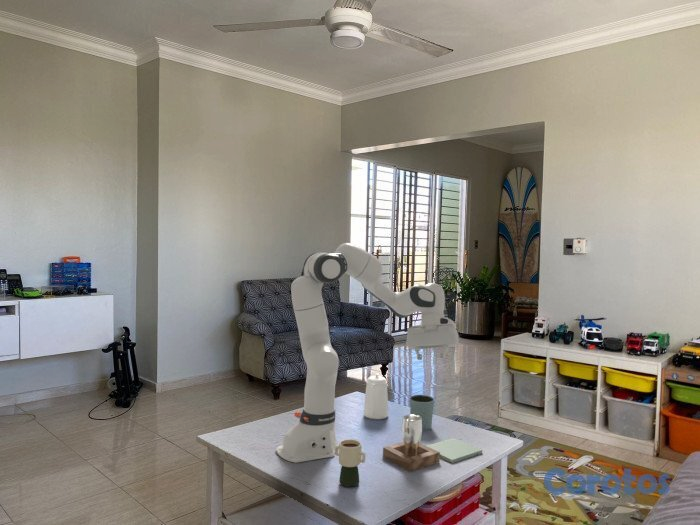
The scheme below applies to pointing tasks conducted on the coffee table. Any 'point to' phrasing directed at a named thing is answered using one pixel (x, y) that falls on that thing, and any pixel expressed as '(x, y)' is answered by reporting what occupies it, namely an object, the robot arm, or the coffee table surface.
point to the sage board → (454, 450)
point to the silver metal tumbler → (411, 434)
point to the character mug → (349, 461)
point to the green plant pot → (422, 409)
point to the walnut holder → (411, 463)
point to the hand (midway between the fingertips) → (431, 358)
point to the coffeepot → (376, 398)
